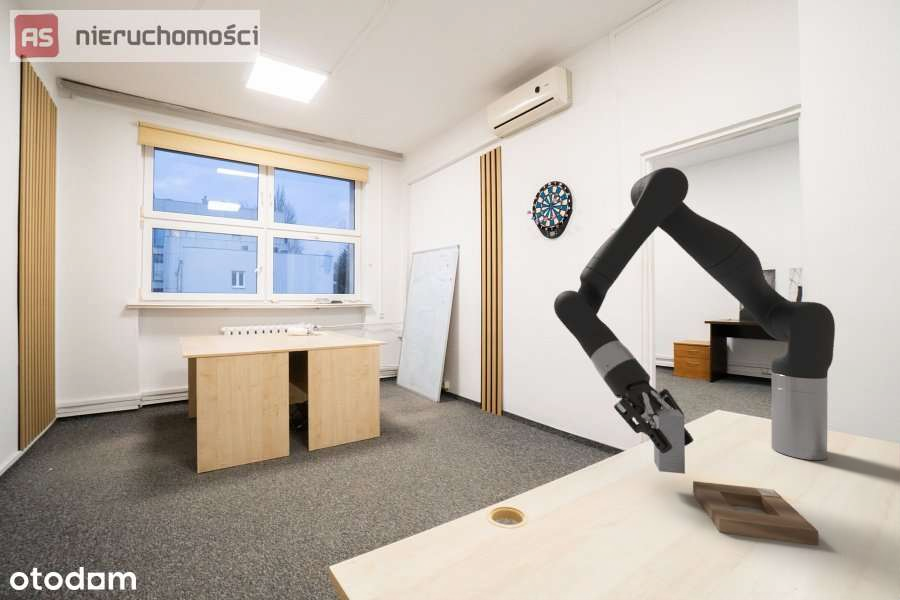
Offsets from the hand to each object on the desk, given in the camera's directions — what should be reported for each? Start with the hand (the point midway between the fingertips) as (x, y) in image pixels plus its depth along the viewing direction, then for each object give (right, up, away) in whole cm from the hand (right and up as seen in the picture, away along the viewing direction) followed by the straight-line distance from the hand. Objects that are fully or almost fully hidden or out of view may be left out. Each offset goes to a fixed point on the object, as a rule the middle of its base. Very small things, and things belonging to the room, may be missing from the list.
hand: (678, 446), depth 69 cm
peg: (-1, -4, +2) cm, 5 cm away
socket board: (+7, -8, -7) cm, 13 cm away
